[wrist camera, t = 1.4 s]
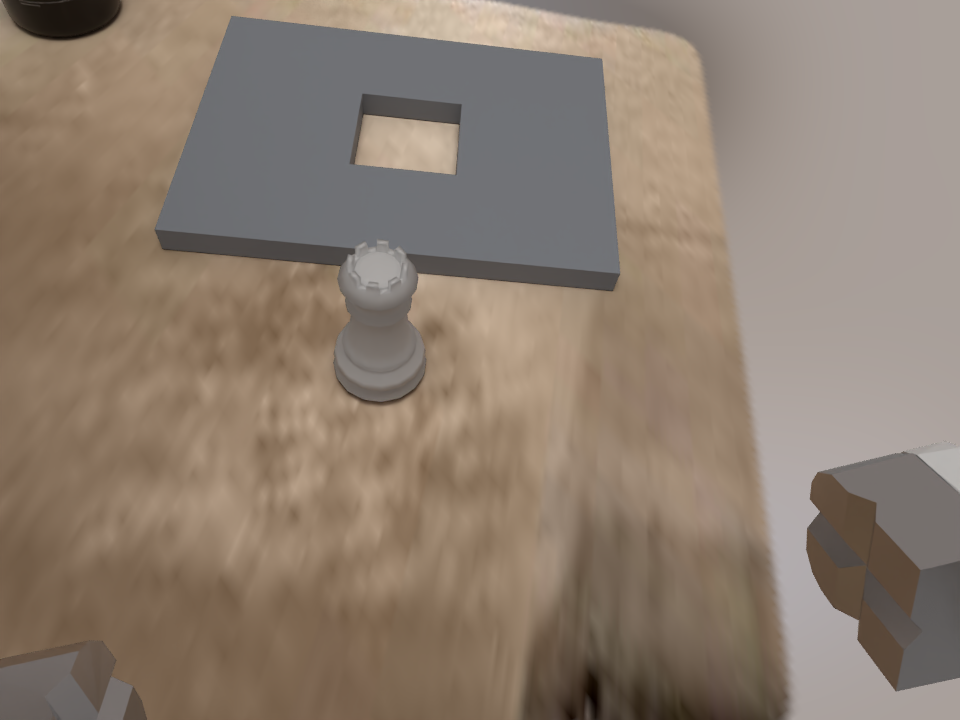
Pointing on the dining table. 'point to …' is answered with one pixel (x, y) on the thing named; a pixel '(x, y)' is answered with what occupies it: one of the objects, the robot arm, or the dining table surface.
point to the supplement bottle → (61, 15)
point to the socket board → (396, 192)
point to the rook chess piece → (379, 325)
